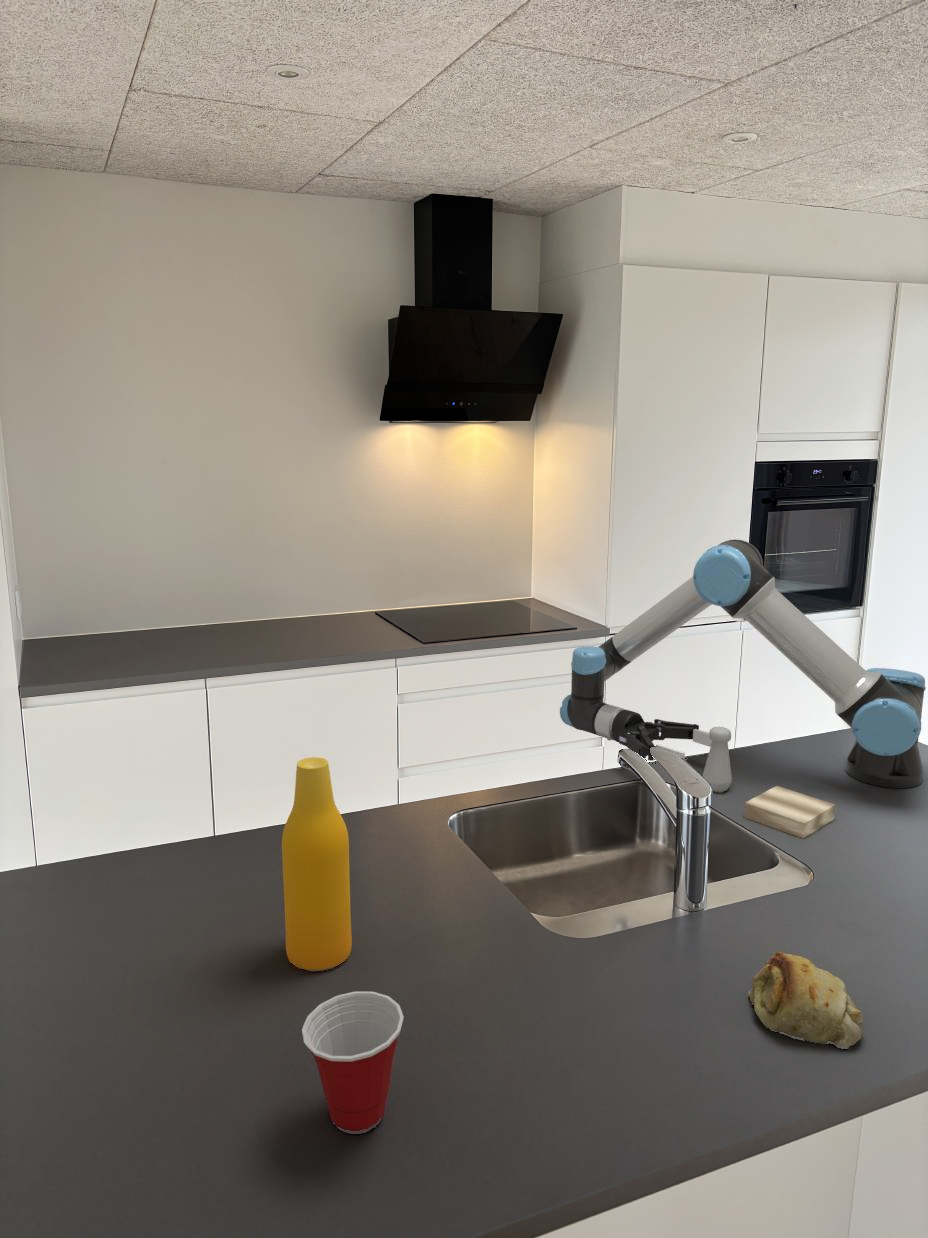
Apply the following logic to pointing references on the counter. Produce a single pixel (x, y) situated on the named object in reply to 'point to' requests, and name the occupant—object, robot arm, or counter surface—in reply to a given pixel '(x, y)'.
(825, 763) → the counter surface
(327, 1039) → the plastic cup
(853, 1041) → the pastry
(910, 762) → the robot arm
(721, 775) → the salt shaker
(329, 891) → the beer bottle
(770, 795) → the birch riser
